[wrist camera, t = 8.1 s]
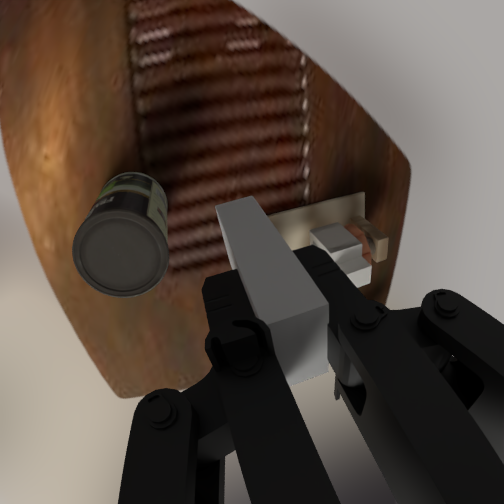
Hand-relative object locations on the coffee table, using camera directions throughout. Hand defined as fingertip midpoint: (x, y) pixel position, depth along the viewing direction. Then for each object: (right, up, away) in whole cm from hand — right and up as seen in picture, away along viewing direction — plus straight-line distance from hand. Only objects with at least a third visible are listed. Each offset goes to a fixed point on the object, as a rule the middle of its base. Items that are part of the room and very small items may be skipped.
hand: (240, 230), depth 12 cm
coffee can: (-16, +6, +28) cm, 33 cm away
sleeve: (+12, 0, +35) cm, 37 cm away
